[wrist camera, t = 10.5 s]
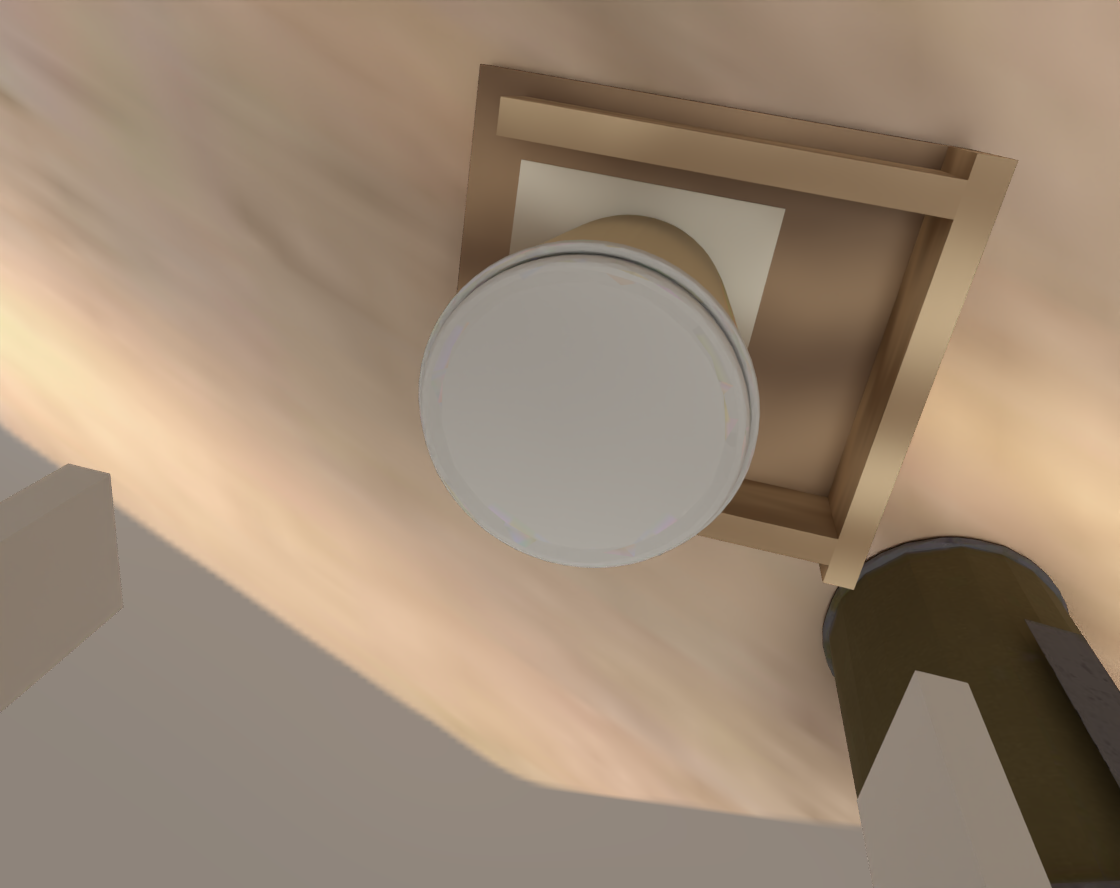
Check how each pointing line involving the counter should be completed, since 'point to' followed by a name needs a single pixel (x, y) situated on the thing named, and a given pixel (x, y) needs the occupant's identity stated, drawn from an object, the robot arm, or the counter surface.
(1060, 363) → the counter surface
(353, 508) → the counter surface
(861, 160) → the dock
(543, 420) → the coffee cup
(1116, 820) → the canister
